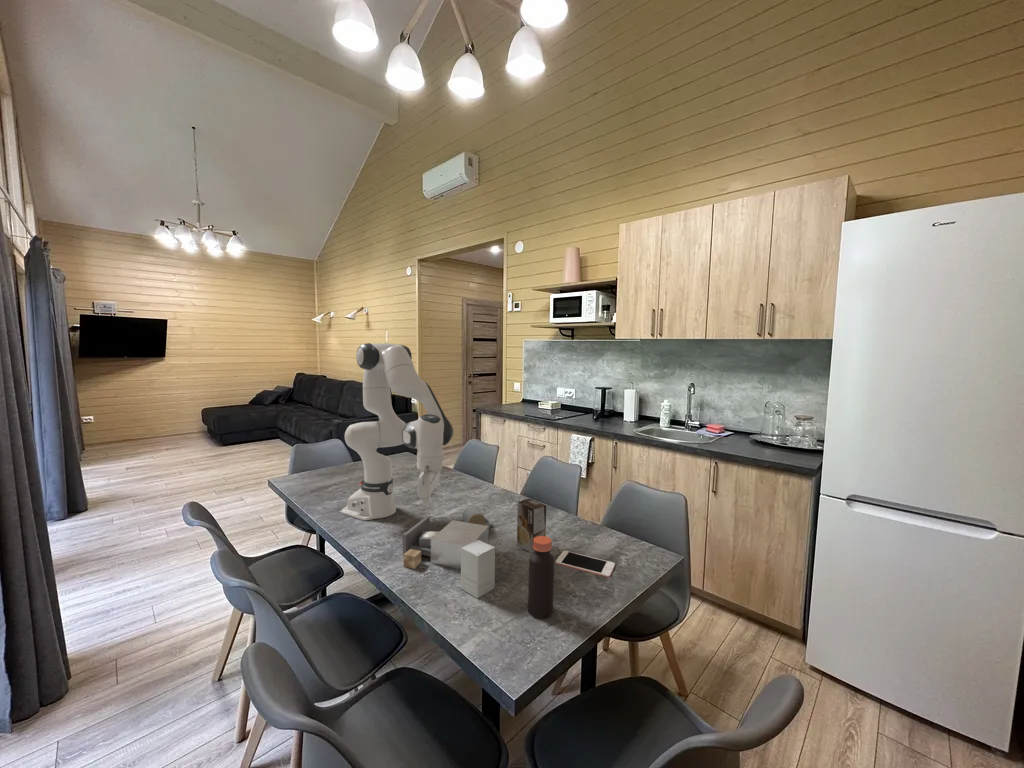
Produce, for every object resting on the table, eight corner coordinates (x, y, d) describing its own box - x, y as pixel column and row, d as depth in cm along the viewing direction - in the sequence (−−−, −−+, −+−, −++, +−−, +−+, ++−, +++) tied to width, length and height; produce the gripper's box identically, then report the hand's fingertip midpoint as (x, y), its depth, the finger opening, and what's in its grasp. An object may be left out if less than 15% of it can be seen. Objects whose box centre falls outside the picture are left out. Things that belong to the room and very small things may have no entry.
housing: (430, 562, 135) (430, 539, 134) (452, 541, 150) (452, 520, 150) (470, 570, 131) (470, 546, 130) (488, 547, 146) (488, 526, 145)
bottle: (538, 622, 107) (540, 548, 105) (522, 609, 112) (524, 538, 111) (558, 613, 111) (560, 541, 109) (541, 600, 116) (543, 532, 114)
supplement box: (495, 588, 122) (496, 547, 121) (477, 599, 116) (477, 556, 115) (478, 578, 127) (478, 538, 126) (459, 588, 121) (460, 547, 120)
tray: (400, 555, 139) (400, 534, 138) (424, 535, 154) (424, 515, 153) (440, 563, 134) (440, 541, 133) (461, 542, 149) (461, 521, 149)
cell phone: (609, 578, 129) (609, 576, 129) (554, 564, 137) (555, 561, 136) (615, 565, 137) (615, 562, 137) (563, 552, 144) (563, 550, 144)
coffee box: (546, 549, 146) (547, 505, 145) (533, 554, 142) (534, 509, 140) (528, 539, 153) (529, 497, 152) (515, 544, 149) (516, 501, 147)
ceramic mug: (468, 533, 157) (469, 514, 156) (461, 525, 164) (462, 506, 164) (494, 529, 161) (494, 510, 160) (486, 521, 169) (487, 503, 168)
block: (403, 566, 133) (403, 554, 132) (410, 560, 136) (410, 548, 136) (414, 568, 131) (414, 556, 131) (421, 562, 135) (421, 550, 135)
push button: (419, 547, 141) (419, 538, 141) (423, 539, 147) (423, 530, 147) (436, 547, 141) (436, 538, 141) (440, 539, 147) (440, 531, 147)
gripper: (432, 472, 131) (432, 514, 133) (444, 454, 151) (443, 491, 153) (413, 471, 131) (412, 513, 133) (427, 454, 151) (426, 490, 153)
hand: (429, 501), depth 143 cm, fingers open, 8 cm apart
